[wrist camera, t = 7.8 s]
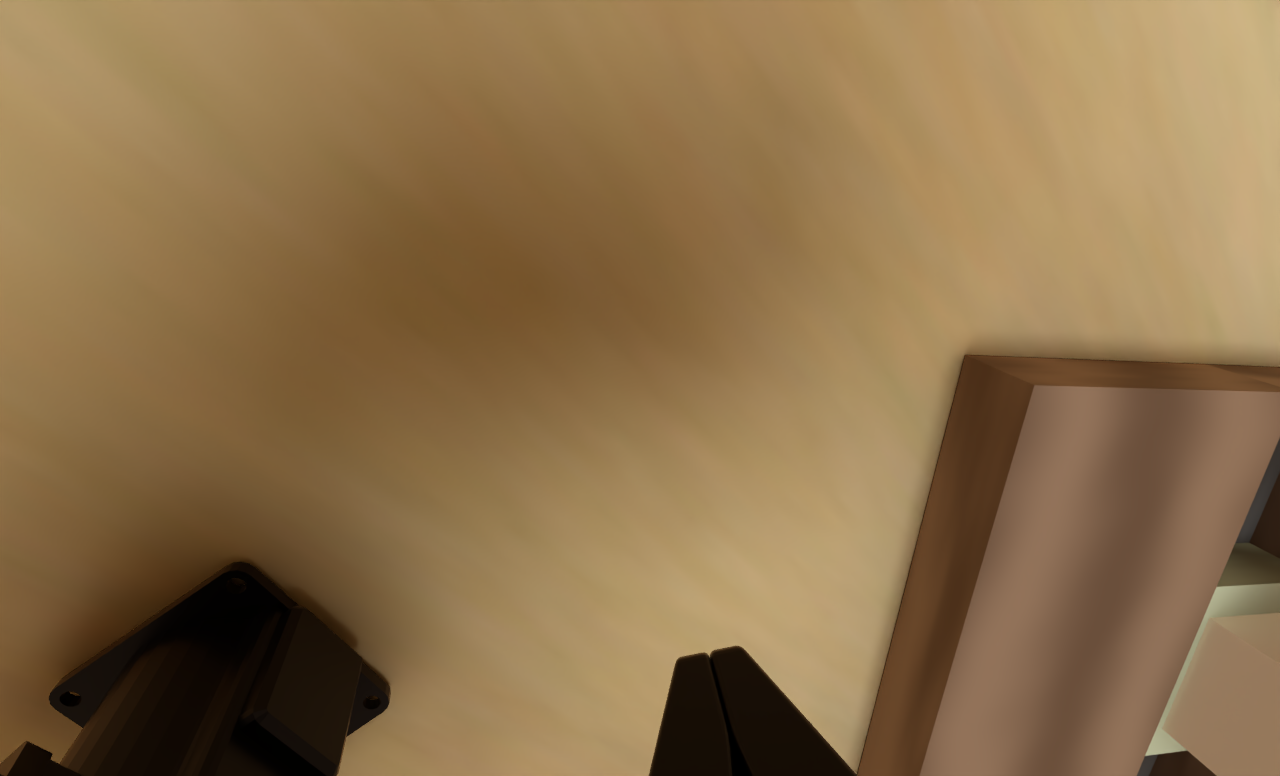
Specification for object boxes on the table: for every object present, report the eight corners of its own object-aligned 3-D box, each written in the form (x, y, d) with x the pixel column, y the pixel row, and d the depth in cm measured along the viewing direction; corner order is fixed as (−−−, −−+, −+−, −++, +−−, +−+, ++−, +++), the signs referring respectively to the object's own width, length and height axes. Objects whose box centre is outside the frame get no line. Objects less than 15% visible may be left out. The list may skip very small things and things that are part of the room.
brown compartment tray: (836, 854, 29) (874, 929, 26) (965, 355, 22) (1034, 385, 20) (1139, 808, 33) (1200, 869, 30) (1330, 369, 26) (1431, 396, 23)
